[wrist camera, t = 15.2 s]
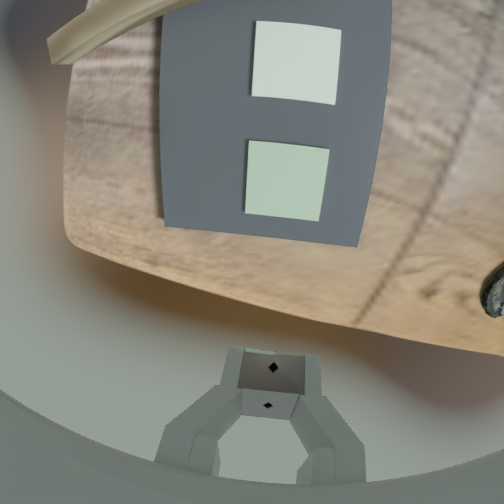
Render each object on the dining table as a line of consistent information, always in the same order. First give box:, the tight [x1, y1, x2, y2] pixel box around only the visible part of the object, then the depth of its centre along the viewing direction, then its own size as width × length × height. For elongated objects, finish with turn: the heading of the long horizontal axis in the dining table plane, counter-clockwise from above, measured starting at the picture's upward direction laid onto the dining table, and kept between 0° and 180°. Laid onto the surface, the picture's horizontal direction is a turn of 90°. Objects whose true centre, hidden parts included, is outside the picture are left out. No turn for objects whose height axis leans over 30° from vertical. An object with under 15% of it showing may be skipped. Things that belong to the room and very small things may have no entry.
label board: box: [159, 0, 392, 247], centre depth 22 cm, size 20×28×4 cm
